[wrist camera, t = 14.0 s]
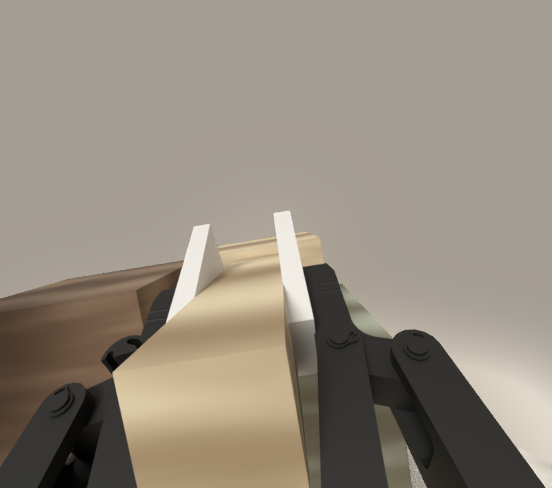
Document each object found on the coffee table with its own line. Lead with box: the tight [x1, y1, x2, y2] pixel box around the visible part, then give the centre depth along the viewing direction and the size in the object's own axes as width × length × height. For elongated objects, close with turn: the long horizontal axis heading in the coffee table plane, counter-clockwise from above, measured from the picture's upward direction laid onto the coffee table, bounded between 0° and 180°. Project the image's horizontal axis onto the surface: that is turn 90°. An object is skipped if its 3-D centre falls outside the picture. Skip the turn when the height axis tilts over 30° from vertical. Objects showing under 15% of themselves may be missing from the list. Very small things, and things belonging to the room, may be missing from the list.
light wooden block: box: [112, 232, 324, 488], centre depth 17 cm, size 24×8×4 cm, turn 179°
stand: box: [0, 261, 412, 488], centre depth 26 cm, size 14×28×29 cm, turn 90°
